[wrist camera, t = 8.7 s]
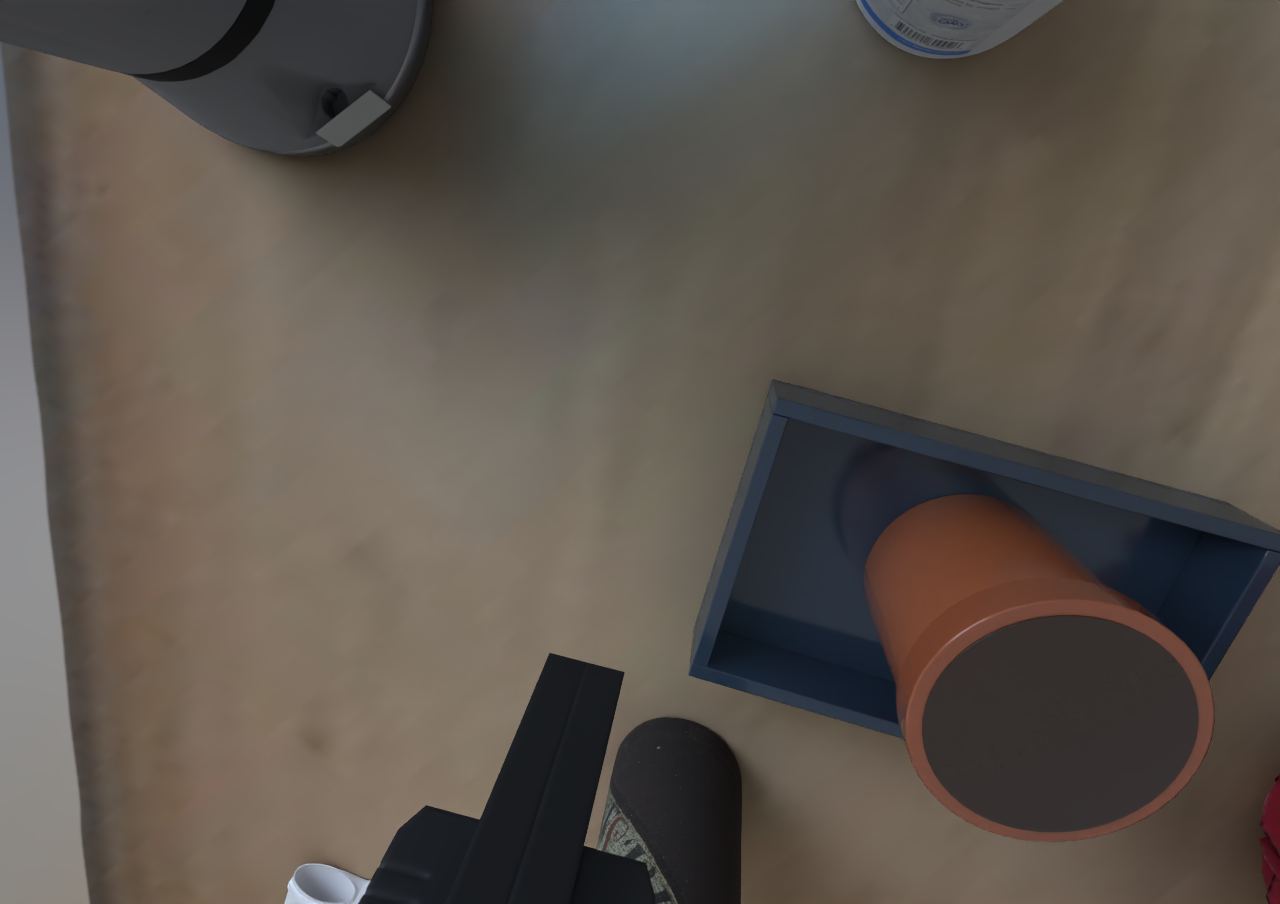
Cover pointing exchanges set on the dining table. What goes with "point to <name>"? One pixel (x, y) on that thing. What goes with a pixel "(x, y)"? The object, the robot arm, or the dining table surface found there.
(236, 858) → the dining table surface
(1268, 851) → the bouquet
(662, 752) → the container
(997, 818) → the flower pot
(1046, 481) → the tray
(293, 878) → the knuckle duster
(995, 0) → the supplement tub
